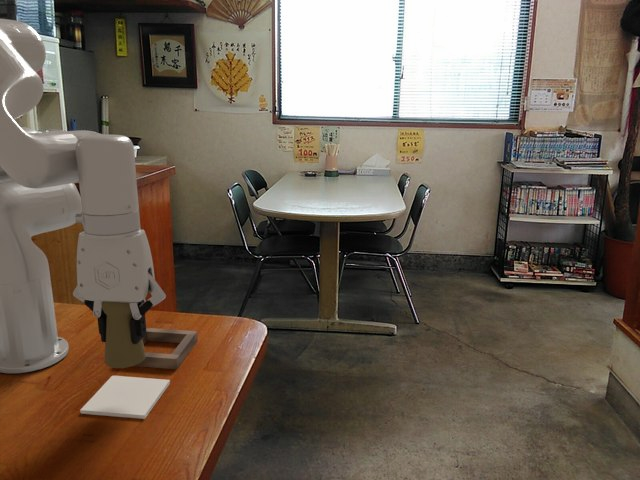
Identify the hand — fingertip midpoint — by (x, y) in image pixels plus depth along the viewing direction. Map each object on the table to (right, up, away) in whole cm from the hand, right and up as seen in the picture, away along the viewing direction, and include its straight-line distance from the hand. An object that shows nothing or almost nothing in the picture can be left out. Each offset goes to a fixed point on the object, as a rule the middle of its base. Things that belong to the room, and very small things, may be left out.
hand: (123, 338), depth 80 cm
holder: (0, -6, +17) cm, 18 cm away
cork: (0, -3, +1) cm, 4 cm away
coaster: (0, -10, +3) cm, 10 cm away
